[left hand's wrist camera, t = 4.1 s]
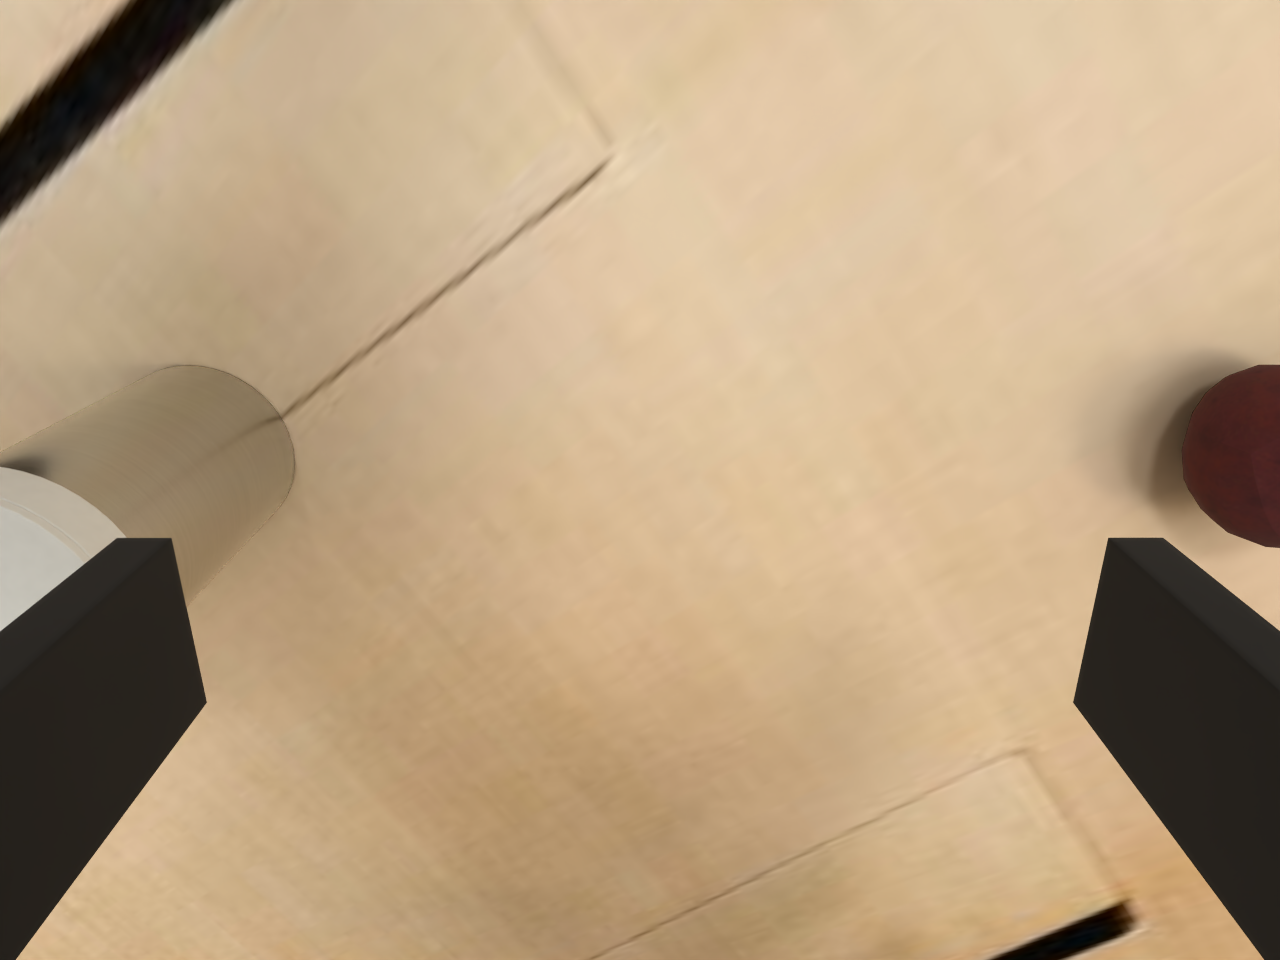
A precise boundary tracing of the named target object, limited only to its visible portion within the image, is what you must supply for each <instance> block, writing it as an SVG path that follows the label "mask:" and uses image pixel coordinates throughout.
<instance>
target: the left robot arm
mask: <svg viewBox="0 0 1280 960" xmlns="http://www.w3.org/2000/svg"><path fill="white" fill-rule="evenodd" d="M206 703H207V701H206V697H205V692H204V687H203V683H202V678H201V673H200V669H199V664H198V659H197V655H196V650H195V645H194V640H193V636H192V631H191V626H190V622H189V617H188V612H187V608H186V603H185V598H184V594H183V589H182V584H181V580H180V575H179V570H178V565H177V561H176V556H175V551H174V547H173V542H172V538H116V539H115V540H114V541H112V542H111V543H110V544H109V545H107V546H106V547H105V548H104V549H102V550H101V551H100V552H99V553H97V554H96V555H95V556H94V557H92V558H91V559H90V560H89V561H87V562H86V563H85V564H84V565H82V566H81V567H80V568H79V569H77V570H76V571H75V572H74V573H72V574H71V575H70V576H69V577H67V578H66V579H65V580H64V581H62V582H61V583H60V584H59V585H57V586H56V587H55V588H54V589H52V590H51V591H50V592H49V593H47V594H46V595H45V596H44V597H42V598H41V599H40V600H39V601H37V602H36V603H35V604H34V605H32V606H31V607H30V608H29V609H27V610H26V611H25V612H24V613H22V614H21V615H20V616H19V617H17V618H16V619H15V620H14V621H12V622H11V623H10V624H9V625H7V626H6V627H5V628H4V629H2V630H1V631H0V960H16V959H17V957H18V956H19V955H20V953H21V952H22V950H23V949H24V948H25V946H26V945H27V944H28V942H29V941H30V940H31V938H32V937H33V936H34V934H35V933H36V932H37V930H38V929H39V928H40V926H41V925H42V924H43V922H44V921H45V920H46V918H47V917H48V915H49V914H50V913H51V911H52V910H53V909H54V907H55V906H56V905H57V903H58V902H59V901H60V899H61V898H62V897H63V895H64V894H65V893H66V891H67V890H68V889H69V887H70V886H71V885H72V883H73V882H74V881H75V879H76V878H77V876H78V875H79V874H80V872H81V871H82V870H83V868H84V867H85V866H86V864H87V863H88V862H89V860H90V859H91V858H92V856H93V855H94V854H95V852H96V851H97V850H98V848H99V847H100V846H101V844H102V843H103V841H104V840H105V839H106V837H107V836H108V835H109V833H110V832H111V831H112V829H113V828H114V827H115V825H116V824H117V823H118V821H119V820H120V819H121V817H122V816H123V815H124V813H125V812H126V811H127V809H128V808H129V806H130V805H131V804H132V802H133V801H134V800H135V798H136V797H137V796H138V794H139V793H140V792H141V790H142V789H143V788H144V786H145V785H146V784H147V782H148V781H149V780H150V778H151V777H152V776H153V774H154V773H155V772H156V770H157V769H158V767H159V766H160V765H161V763H162V762H163V761H164V759H165V758H166V757H167V755H168V754H169V753H170V751H171V750H172V749H173V747H174V746H175V745H176V743H177V742H178V741H179V739H180V738H181V737H182V735H183V734H184V732H185V731H186V730H187V728H188V727H189V726H190V724H191V723H192V722H193V720H194V719H195V718H196V716H197V715H198V714H199V712H200V711H201V710H202V708H203V707H204V706H205V704H206ZM1073 703H1074V704H1075V706H1076V707H1077V708H1078V710H1079V711H1080V712H1081V714H1082V715H1083V716H1084V718H1085V719H1086V720H1087V722H1088V723H1089V724H1090V726H1091V727H1092V728H1093V730H1094V731H1095V732H1096V734H1097V735H1098V737H1099V738H1100V739H1101V741H1102V742H1103V743H1104V745H1105V746H1106V747H1107V749H1108V750H1109V751H1110V753H1111V754H1112V755H1113V757H1114V758H1115V759H1116V761H1117V762H1118V763H1119V765H1120V766H1121V767H1122V769H1123V770H1124V772H1125V773H1126V774H1127V776H1128V777H1129V778H1130V780H1131V781H1132V782H1133V784H1134V785H1135V786H1136V788H1137V789H1138V790H1139V792H1140V793H1141V794H1142V796H1143V797H1144V798H1145V800H1146V801H1147V802H1148V804H1149V805H1150V806H1151V808H1152V809H1153V811H1154V812H1155V813H1156V815H1157V816H1158V817H1159V819H1160V820H1161V821H1162V823H1163V824H1164V825H1165V827H1166V828H1167V829H1168V831H1169V832H1170V833H1171V835H1172V836H1173V837H1174V839H1175V840H1176V841H1177V843H1178V844H1179V846H1180V847H1181V848H1182V850H1183V851H1184V852H1185V854H1186V855H1187V856H1188V858H1189V859H1190V860H1191V862H1192V863H1193V864H1194V866H1195V867H1196V868H1197V870H1198V871H1199V872H1200V874H1201V875H1202V876H1203V878H1204V879H1205V881H1206V882H1207V883H1208V885H1209V886H1210V887H1211V889H1212V890H1213V891H1214V893H1215V894H1216V895H1217V897H1218V898H1219V899H1220V901H1221V902H1222V903H1223V905H1224V906H1225V907H1226V909H1227V910H1228V911H1229V913H1230V914H1231V916H1232V917H1233V918H1234V920H1235V921H1236V922H1237V924H1238V925H1239V926H1240V928H1241V929H1242V930H1243V932H1244V933H1245V934H1246V936H1247V937H1248V938H1249V940H1250V941H1251V942H1252V944H1253V945H1254V946H1255V948H1256V949H1257V950H1258V952H1259V953H1260V955H1261V956H1262V957H1263V959H1264V960H1280V631H1279V630H1278V629H1276V628H1275V627H1274V626H1273V625H1271V624H1270V623H1269V622H1268V621H1266V620H1265V619H1264V618H1263V617H1261V616H1260V615H1259V614H1258V613H1256V612H1255V611H1254V610H1253V609H1251V608H1250V607H1249V606H1248V605H1246V604H1245V603H1244V602H1243V601H1241V600H1240V599H1239V598H1238V597H1236V596H1235V595H1234V594H1233V593H1231V592H1230V591H1229V590H1228V589H1226V588H1225V587H1224V586H1223V585H1221V584H1220V583H1219V582H1218V581H1216V580H1215V579H1214V578H1213V577H1211V576H1210V575H1209V574H1208V573H1206V572H1205V571H1204V570H1203V569H1201V568H1200V567H1199V566H1198V565H1196V564H1195V563H1194V562H1193V561H1191V560H1190V559H1189V558H1188V557H1186V556H1185V555H1184V554H1183V553H1181V552H1180V551H1179V550H1178V549H1176V548H1175V547H1174V546H1173V545H1171V544H1170V543H1169V542H1168V541H1166V540H1165V539H1164V538H1108V542H1107V547H1106V551H1105V556H1104V561H1103V565H1102V570H1101V575H1100V580H1099V584H1098V589H1097V594H1096V598H1095V603H1094V608H1093V612H1092V617H1091V622H1090V626H1089V631H1088V636H1087V640H1086V645H1085V650H1084V655H1083V659H1082V664H1081V669H1080V673H1079V678H1078V683H1077V687H1076V692H1075V697H1074V701H1073Z"/></svg>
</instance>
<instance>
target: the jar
mask: <svg viewBox="0 0 1280 960" xmlns="http://www.w3.org/2000/svg"><path fill="white" fill-rule="evenodd" d="M0 467H4V468H10V469H14V470H19V471H23V472H26V473H30V474H33V475H36V476H39V477H42V478H44V479H47V480H49V481H51V482H54V483H56V484H58V485H61V486H63V487H64V488H66V489H68V490H70V491H71V492H73V493H75V494H77V495H79V496H80V497H82V498H83V499H84V500H86V501H87V502H89V503H90V504H92V505H93V506H94V507H96V508H97V509H98V510H99V511H101V512H102V513H103V514H104V515H105V516H107V517H108V518H109V519H110V520H111V521H112V522H113V523H114V524H115V525H116V526H117V527H118V528H119V530H120V531H121V532H122V533H123V534H124V535H125V536H126V537H127V538H172V542H173V547H174V551H175V556H176V561H177V565H178V570H179V575H180V580H181V584H182V589H183V594H184V598H185V603H186V608H187V606H188V605H189V604H190V603H191V602H192V601H193V600H194V599H195V598H196V597H197V596H198V595H199V594H200V592H201V591H202V590H203V589H204V588H205V587H206V586H207V585H208V584H209V583H210V582H211V581H212V580H213V578H214V577H215V576H216V575H217V574H218V573H219V572H220V571H221V570H222V569H223V568H224V567H225V566H226V564H227V563H228V562H229V561H230V560H231V559H232V558H233V557H234V556H235V555H236V554H237V553H238V552H239V550H240V549H241V548H242V547H243V546H244V545H245V544H246V543H247V542H248V541H249V540H250V539H251V538H252V536H253V535H254V534H255V533H256V532H257V531H258V530H259V529H260V528H261V527H262V526H263V525H264V524H265V522H266V521H267V520H268V519H269V518H270V517H271V516H272V515H273V514H274V513H275V512H276V511H277V509H278V508H279V507H280V506H281V505H282V503H283V502H284V500H285V498H286V497H287V495H288V493H289V490H290V488H291V485H292V481H293V477H294V467H295V463H294V452H293V447H292V442H291V439H290V436H289V433H288V431H287V429H286V427H285V425H284V423H283V421H282V419H281V418H280V416H279V415H278V413H277V411H276V410H275V409H274V408H273V407H272V405H271V404H270V403H269V402H268V401H267V400H266V399H265V398H264V397H263V396H262V395H261V394H260V393H259V392H258V391H256V390H255V389H254V388H252V387H251V386H250V385H248V384H247V383H245V382H243V381H242V380H240V379H238V378H236V377H234V376H232V375H230V374H228V373H225V372H222V371H219V370H216V369H212V368H207V367H202V366H191V365H190V366H175V367H169V368H165V369H162V370H159V371H156V372H154V373H152V374H150V375H148V376H146V377H144V378H142V379H140V380H138V381H136V382H134V383H132V384H130V385H129V386H127V387H125V388H123V389H121V390H119V391H117V392H115V393H113V394H111V395H109V396H107V397H105V398H104V399H102V400H100V401H98V402H96V403H94V404H92V405H90V406H88V407H86V408H84V409H82V410H80V411H79V412H77V413H75V414H73V415H71V416H69V417H67V418H65V419H63V420H61V421H59V422H57V423H55V424H54V425H52V426H50V427H48V428H46V429H44V430H42V431H40V432H38V433H36V434H34V435H32V436H30V437H29V438H27V439H25V440H23V441H21V442H19V443H17V444H15V445H13V446H11V447H9V448H7V449H5V450H4V451H2V452H0Z"/></svg>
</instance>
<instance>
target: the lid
mask: <svg viewBox="0 0 1280 960" xmlns="http://www.w3.org/2000/svg"><path fill="white" fill-rule="evenodd" d="M116 538H127V537H126V536H125V535H124V534H123V533H122V532H121V531H120V530H119V528H118V527H117V526H116V525H115V524H114V523H113V522H112V521H111V520H110V519H109V518H108V517H107V516H105V515H104V514H103V513H102V512H101V511H99V510H98V509H97V508H96V507H94V506H93V505H92V504H90V503H89V502H87V501H86V500H84V499H83V498H82V497H80V496H79V495H77V494H75V493H73V492H71V491H70V490H68V489H66V488H64V487H63V486H61V485H58V484H56V483H54V482H51V481H49V480H47V479H44V478H42V477H39V476H36V475H33V474H30V473H26V472H23V471H19V470H14V469H10V468H4V467H0V631H1V630H2V629H4V628H5V627H6V626H7V625H9V624H10V623H11V622H12V621H14V620H15V619H16V618H17V617H19V616H20V615H21V614H22V613H24V612H25V611H26V610H27V609H29V608H30V607H31V606H32V605H34V604H35V603H36V602H37V601H39V600H40V599H41V598H42V597H44V596H45V595H46V594H47V593H49V592H50V591H51V590H52V589H54V588H55V587H56V586H57V585H59V584H60V583H61V582H62V581H64V580H65V579H66V578H67V577H69V576H70V575H71V574H72V573H74V572H75V571H76V570H77V569H79V568H80V567H81V566H82V565H84V564H85V563H86V562H87V561H89V560H90V559H91V558H92V557H94V556H95V555H96V554H97V553H99V552H100V551H101V550H102V549H104V548H105V547H106V546H107V545H109V544H110V543H111V542H112V541H114V540H115V539H116Z"/></svg>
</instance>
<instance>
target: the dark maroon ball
mask: <svg viewBox="0 0 1280 960" xmlns="http://www.w3.org/2000/svg"><path fill="white" fill-rule="evenodd" d="M1182 460H1183V475H1184V480H1185V482H1186V485H1187V487H1188V489H1189V491H1190V492H1191V494H1192V496H1193V497H1194V499H1195V500H1196V502H1197V503H1198V505H1199V507H1200V508H1201V509H1202V510H1203V511H1204V512H1205V513H1206V514H1207V515H1208V516H1209V517H1210V518H1211V519H1212V520H1214V521H1215V522H1216V523H1217V524H1218V525H1219V526H1221V527H1222V528H1223V529H1224V530H1225V531H1227V532H1228V533H1230V534H1233V535H1236V536H1238V537H1241V538H1244V539H1246V540H1249V541H1252V542H1254V543H1257V544H1260V545H1262V546H1265V547H1275V548H1280V365H1257V366H1254V367H1251V368H1248V369H1246V370H1243V371H1240V372H1237V373H1234V374H1231V375H1229V376H1227V377H1225V378H1224V379H1222V380H1221V381H1220V382H1219V383H1217V384H1216V385H1215V386H1214V387H1213V388H1211V389H1210V390H1209V391H1208V392H1206V393H1205V395H1204V396H1203V398H1202V399H1201V401H1200V402H1199V404H1198V405H1197V407H1196V408H1195V410H1194V411H1193V413H1192V416H1191V419H1190V423H1189V426H1188V430H1187V433H1186V436H1185V440H1184V444H1183V448H1182Z"/></svg>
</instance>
